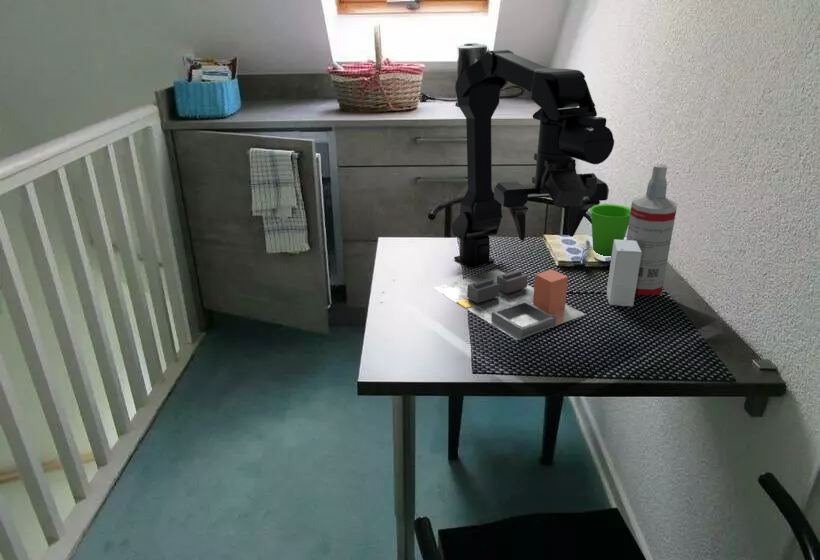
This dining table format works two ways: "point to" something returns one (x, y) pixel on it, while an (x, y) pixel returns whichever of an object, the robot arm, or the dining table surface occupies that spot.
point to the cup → (608, 226)
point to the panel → (508, 308)
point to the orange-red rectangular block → (550, 290)
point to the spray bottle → (652, 232)
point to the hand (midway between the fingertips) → (546, 238)
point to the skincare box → (623, 272)
